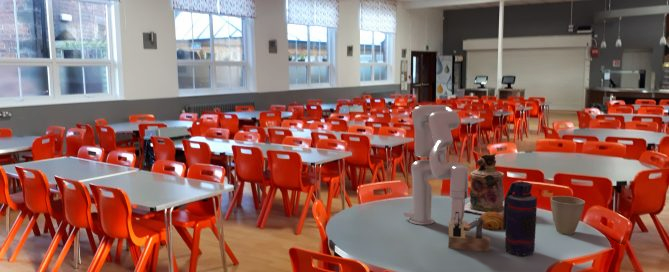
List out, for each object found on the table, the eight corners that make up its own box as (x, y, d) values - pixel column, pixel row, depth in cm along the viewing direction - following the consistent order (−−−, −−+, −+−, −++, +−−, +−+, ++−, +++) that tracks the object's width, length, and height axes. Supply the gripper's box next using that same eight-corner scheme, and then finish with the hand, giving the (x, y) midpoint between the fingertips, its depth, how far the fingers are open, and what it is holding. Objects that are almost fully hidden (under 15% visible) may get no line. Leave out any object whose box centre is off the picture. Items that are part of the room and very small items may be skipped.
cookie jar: (472, 202, 307) (474, 148, 303) (515, 208, 293) (518, 151, 289) (456, 211, 287) (458, 153, 283) (501, 218, 273) (503, 158, 269)
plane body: (448, 247, 229) (449, 222, 228) (449, 243, 234) (450, 219, 233) (489, 251, 224) (490, 226, 222) (489, 248, 229) (490, 223, 227)
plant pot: (549, 235, 246) (551, 202, 244) (548, 226, 260) (549, 194, 258) (584, 238, 241) (586, 205, 239) (581, 229, 255) (583, 197, 253)
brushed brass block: (448, 236, 228) (449, 223, 227) (450, 232, 234) (450, 219, 233) (465, 238, 226) (465, 224, 225) (466, 234, 232) (466, 221, 231)
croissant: (475, 232, 258) (474, 217, 256) (482, 220, 271) (482, 205, 269) (505, 236, 251) (505, 220, 249) (511, 223, 264) (511, 208, 262)
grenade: (540, 253, 222) (543, 183, 218) (522, 259, 216) (525, 187, 212) (513, 244, 234) (516, 178, 230) (495, 249, 227) (497, 181, 223)
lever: (469, 231, 214) (469, 227, 214) (462, 230, 216) (462, 226, 216) (484, 222, 226) (484, 219, 226) (477, 221, 228) (477, 217, 228)
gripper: (452, 189, 237) (451, 227, 239) (447, 197, 221) (446, 239, 223) (469, 190, 234) (467, 229, 237) (466, 199, 218) (464, 241, 221)
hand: (457, 233), depth 230 cm, fingers closed on brushed brass block, 6 cm apart
